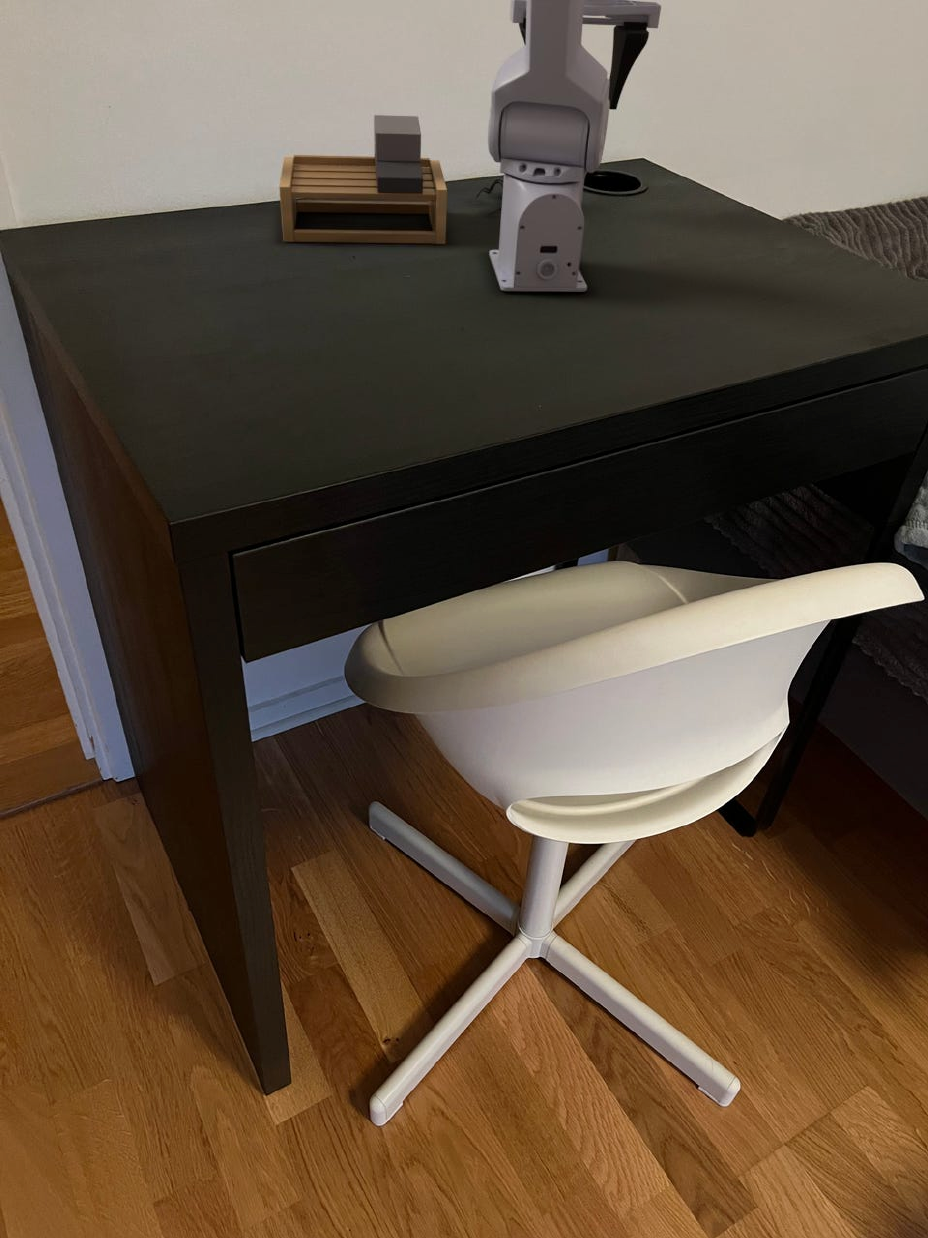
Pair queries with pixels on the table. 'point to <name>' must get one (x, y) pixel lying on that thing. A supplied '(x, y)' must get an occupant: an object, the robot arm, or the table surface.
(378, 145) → the grey step block
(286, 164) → the shoe rack
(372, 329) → the table surface
